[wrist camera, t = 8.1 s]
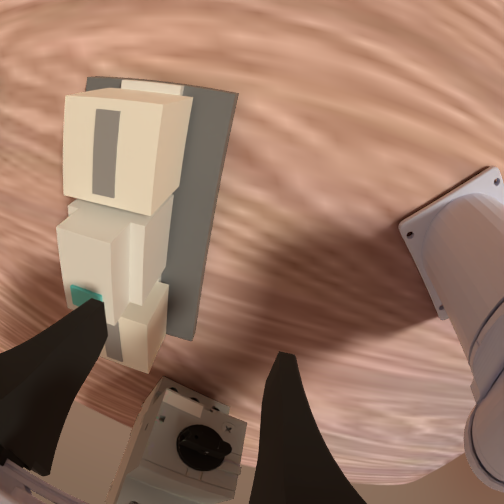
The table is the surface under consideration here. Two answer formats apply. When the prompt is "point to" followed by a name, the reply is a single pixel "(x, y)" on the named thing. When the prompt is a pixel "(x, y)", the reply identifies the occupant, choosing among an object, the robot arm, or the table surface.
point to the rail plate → (192, 199)
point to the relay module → (112, 254)
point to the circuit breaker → (180, 451)
